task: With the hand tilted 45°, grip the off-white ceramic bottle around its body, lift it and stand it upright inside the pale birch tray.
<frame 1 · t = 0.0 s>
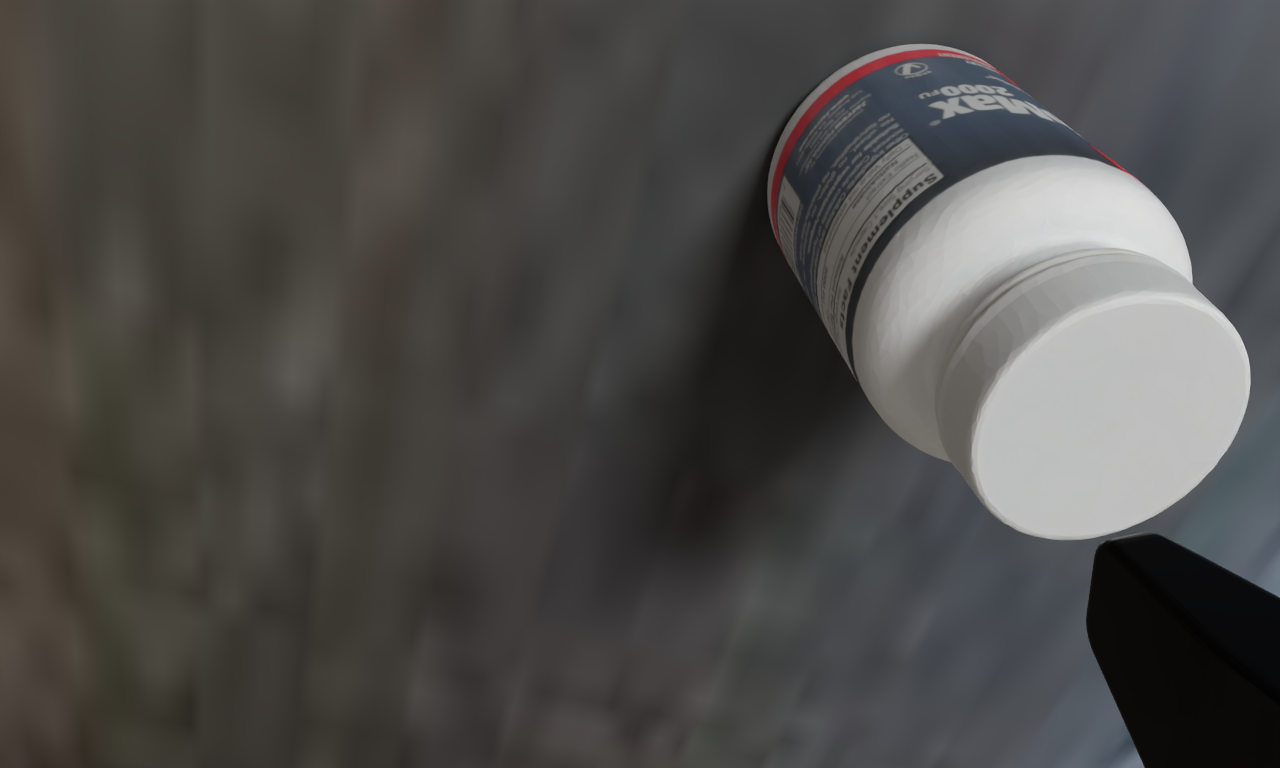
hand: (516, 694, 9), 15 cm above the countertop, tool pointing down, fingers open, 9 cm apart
pill bottle: (890, 167, 24), on the countertop
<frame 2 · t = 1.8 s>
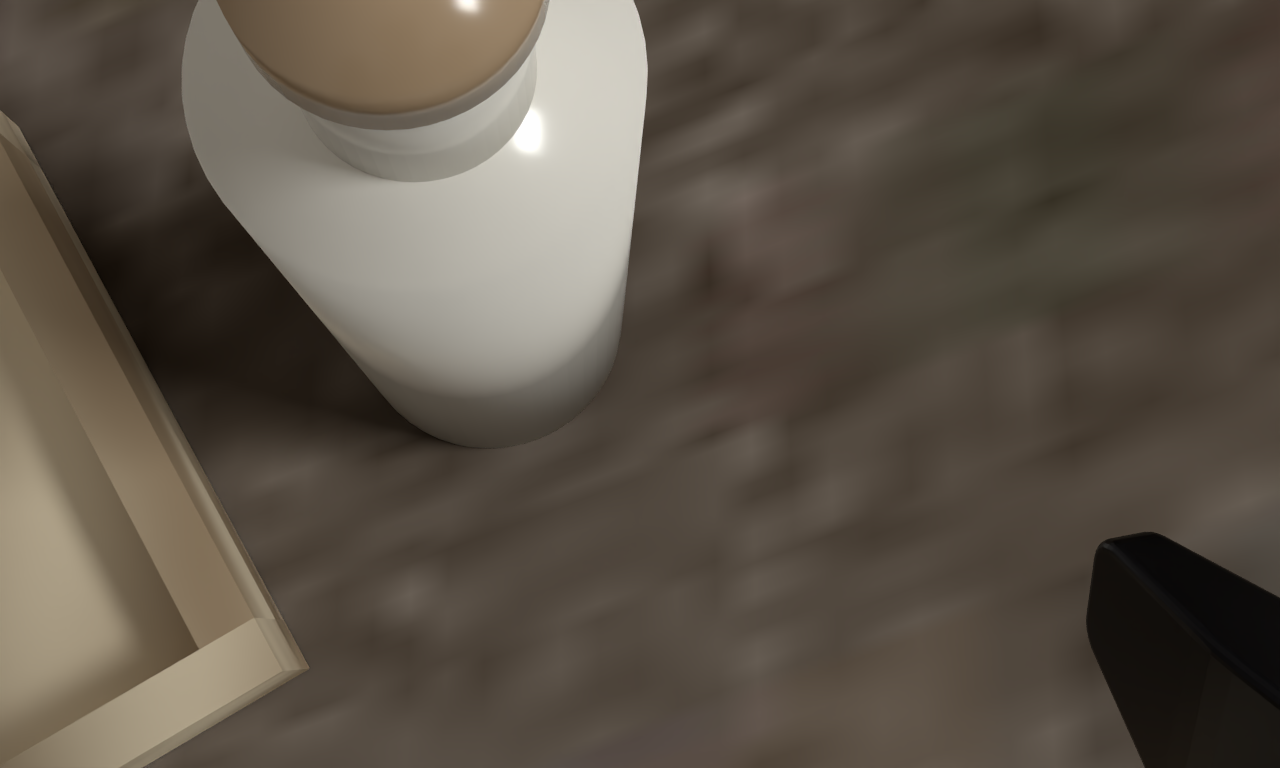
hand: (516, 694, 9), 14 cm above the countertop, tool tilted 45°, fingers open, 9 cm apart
bottle: (491, 319, 24), on the countertop
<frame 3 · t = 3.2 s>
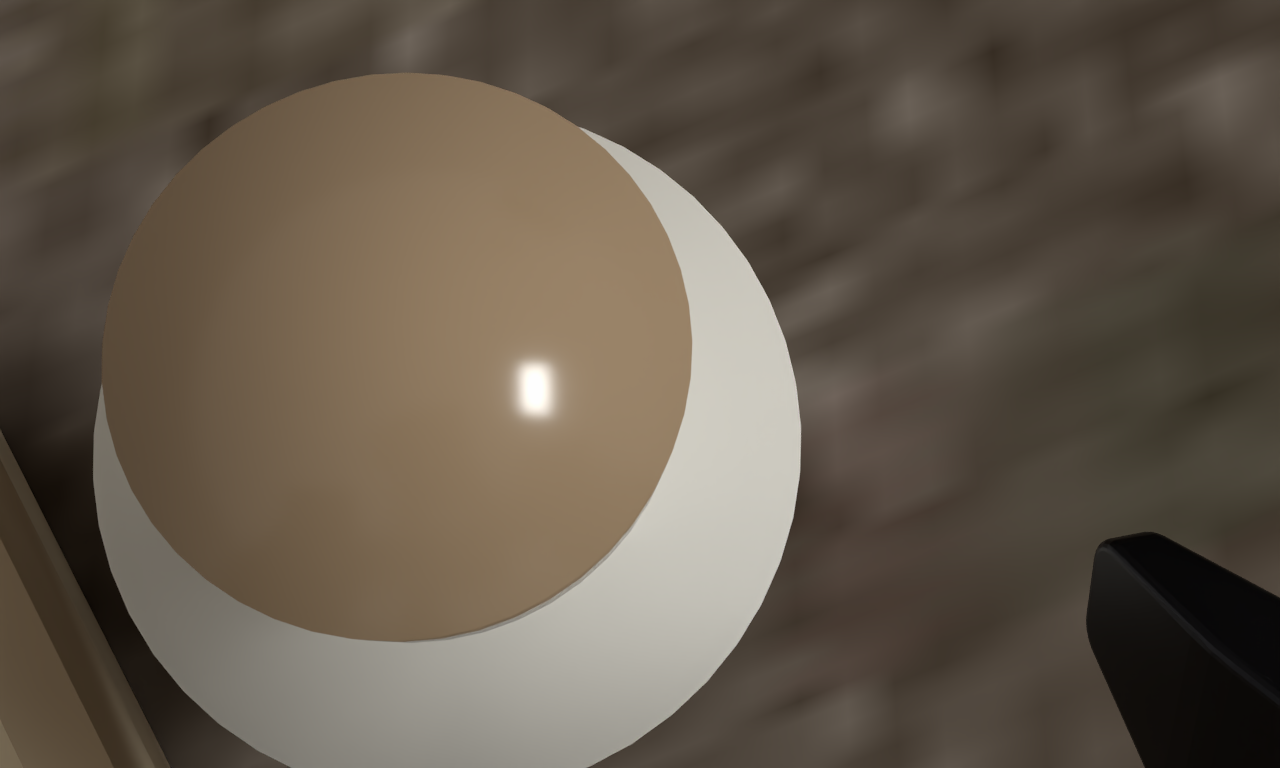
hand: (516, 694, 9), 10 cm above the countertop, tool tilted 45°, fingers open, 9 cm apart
bottle: (523, 553, 19), on the countertop
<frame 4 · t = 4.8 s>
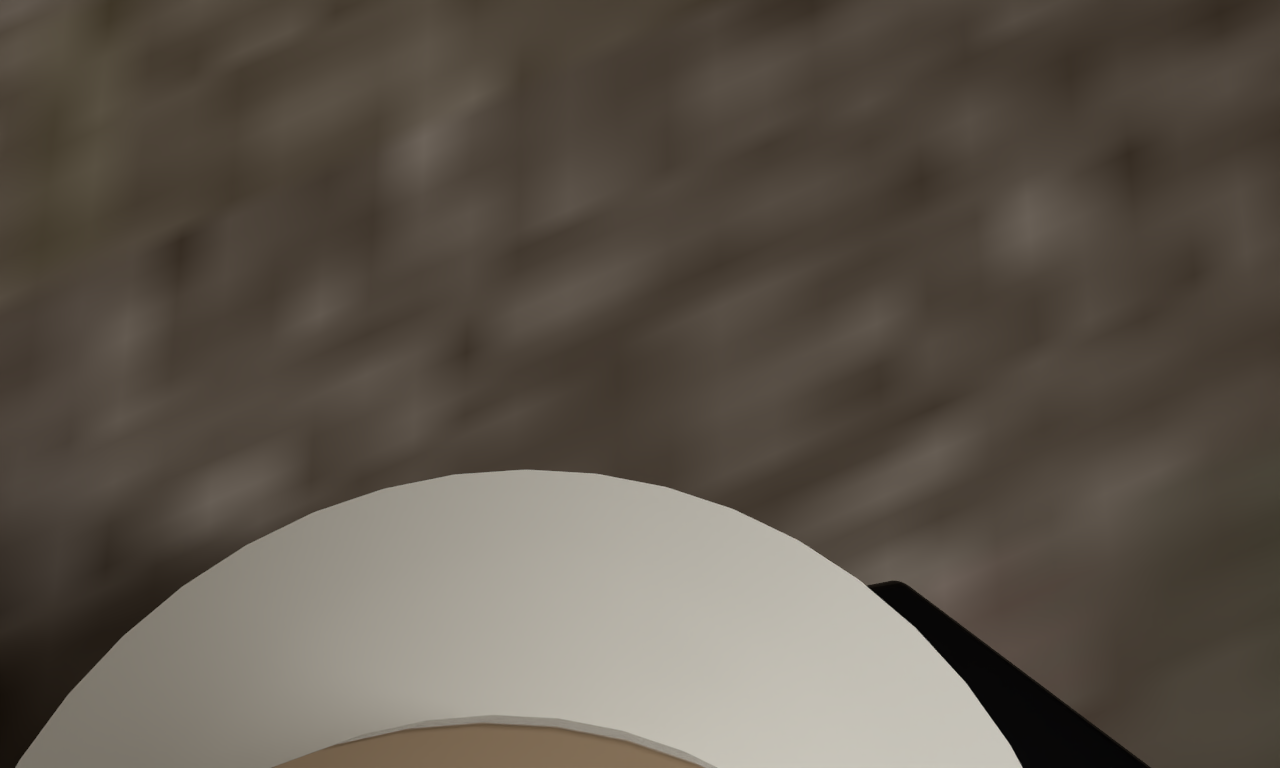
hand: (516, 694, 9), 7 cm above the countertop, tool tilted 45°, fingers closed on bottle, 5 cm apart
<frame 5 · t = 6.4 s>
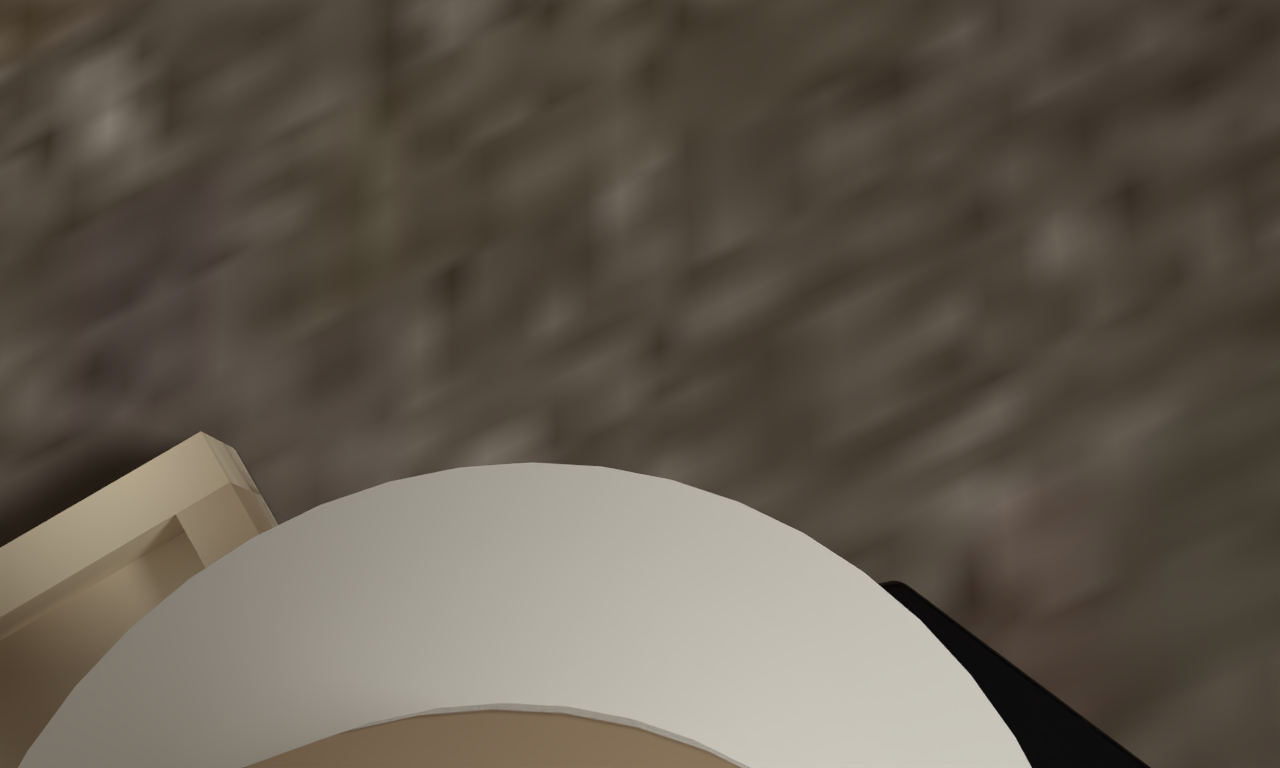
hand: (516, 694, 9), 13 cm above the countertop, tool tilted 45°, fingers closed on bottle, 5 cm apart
when the fingers open (8 cm above the countertop, at t = 8.2 s): bottle drops 1 cm, resting on tray.
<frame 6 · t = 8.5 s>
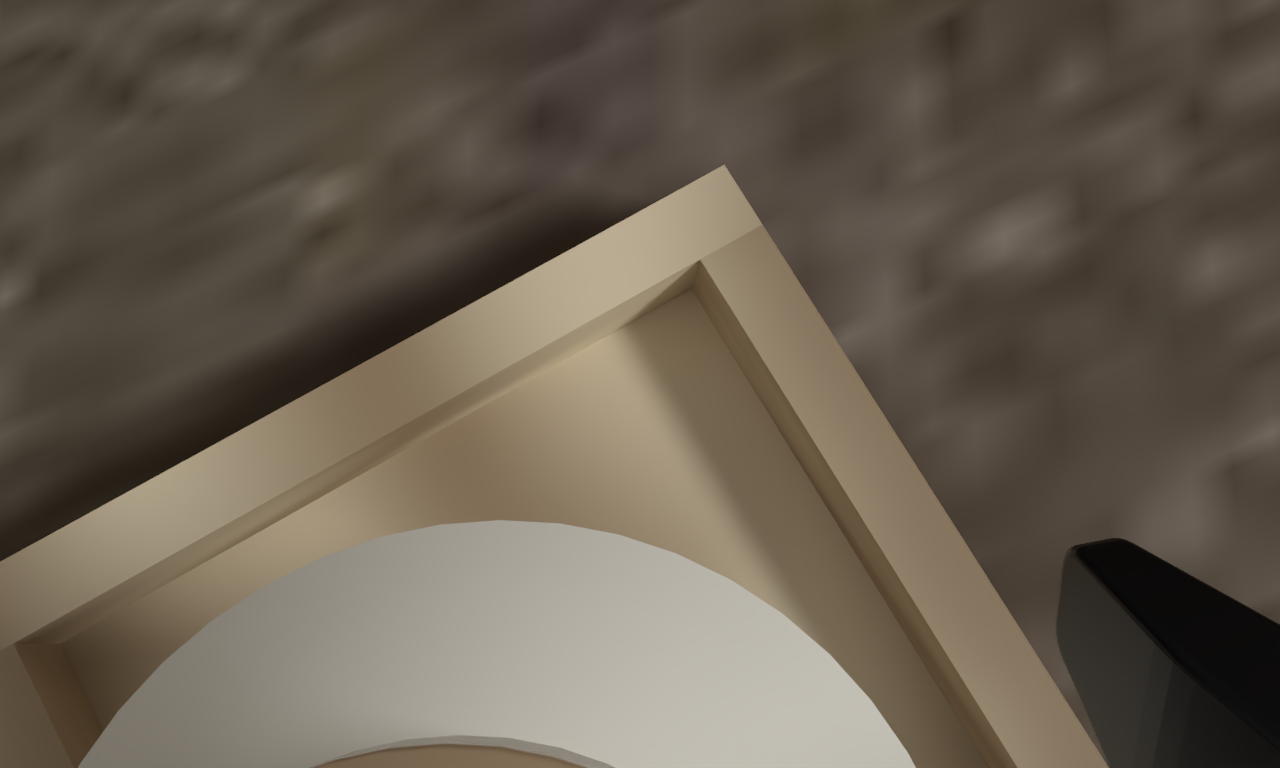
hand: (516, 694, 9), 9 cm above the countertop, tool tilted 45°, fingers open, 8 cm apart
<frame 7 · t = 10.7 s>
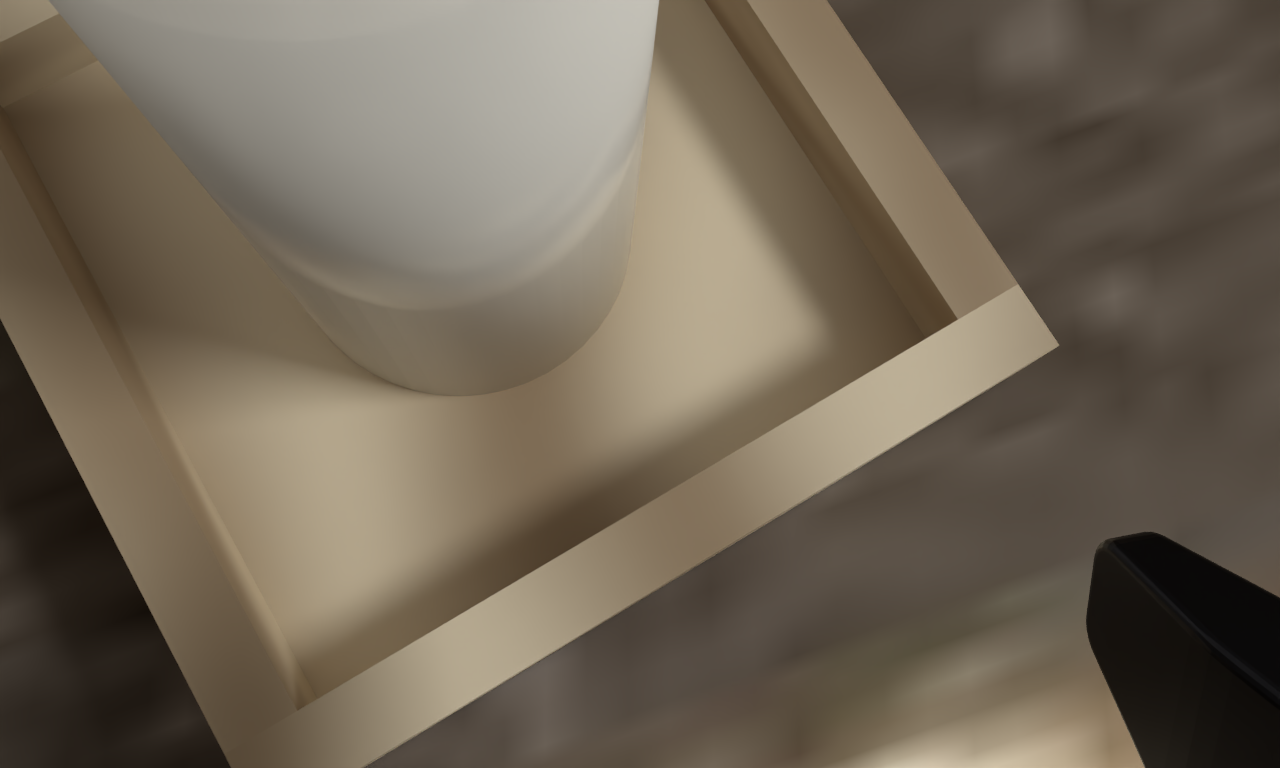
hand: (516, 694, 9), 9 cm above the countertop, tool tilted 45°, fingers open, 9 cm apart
bottle: (462, 230, 18), point 1 cm above the countertop, touching tray
tray: (468, 238, 19), on the countertop
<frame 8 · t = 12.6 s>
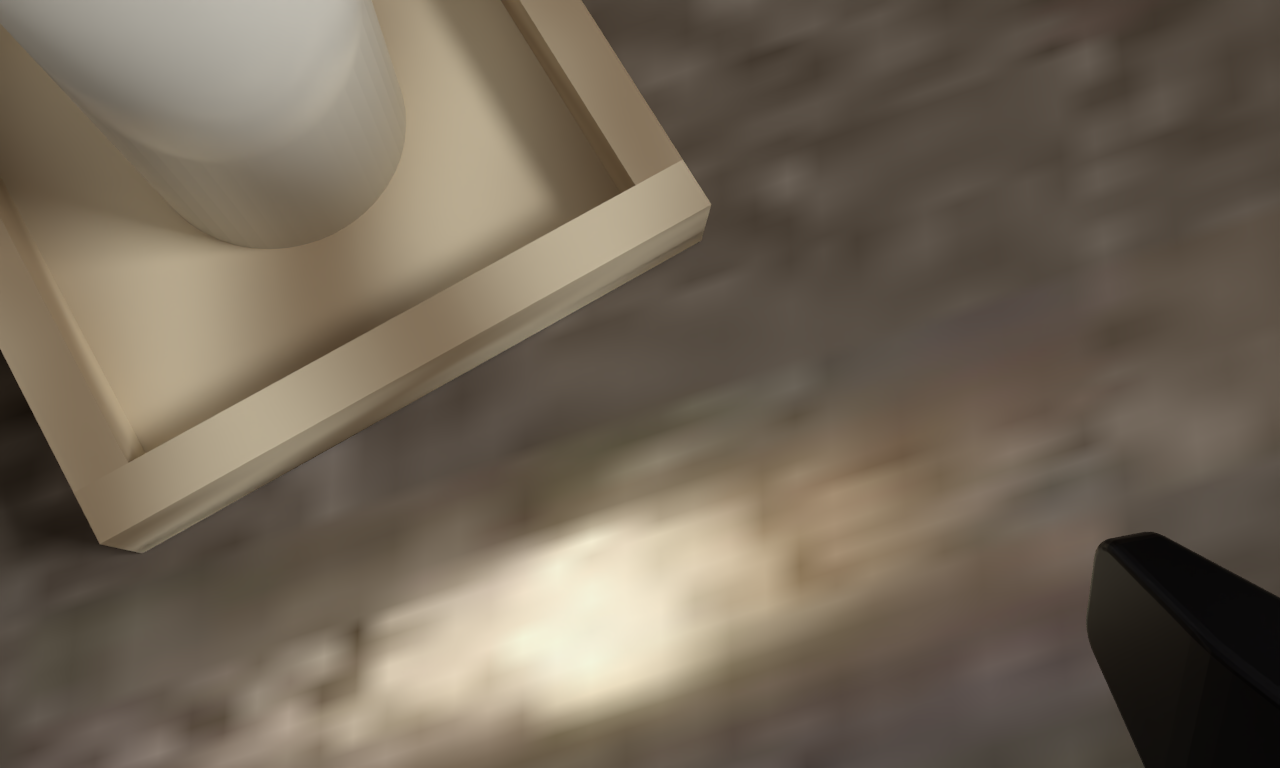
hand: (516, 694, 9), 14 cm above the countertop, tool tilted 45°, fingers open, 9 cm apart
bottle: (275, 125, 24), point 1 cm above the countertop, touching tray
tray: (284, 134, 24), on the countertop
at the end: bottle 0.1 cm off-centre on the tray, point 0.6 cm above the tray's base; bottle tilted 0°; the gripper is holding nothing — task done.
